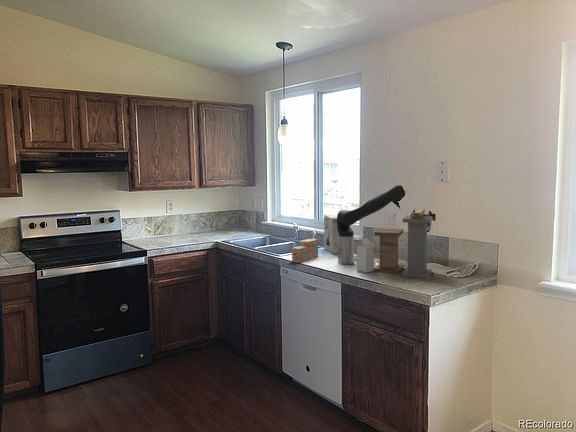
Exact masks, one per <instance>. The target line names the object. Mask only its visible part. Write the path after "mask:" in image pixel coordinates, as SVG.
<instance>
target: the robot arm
mask: <svg viewBox="0 0 576 432" xmlns="http://www.w3.org/2000/svg"><path fill="white" fill-rule="evenodd" d="M402 186H403V185H399V184H398V185H395V186H393V187H391V188H390V189H389V190H387V191H384V192H382V193H379V194H378V195H376V196H373V197H371V198H369V199H367V200H365V201H364V202H363V203H362V204H361V205H360V206H359V207H357V208H354V209H351V210H349V209H341V210H339V211H338V213H337V214H336V215H337V230H338V233H339V247H338V254H337V263H339V264H340V265H351V264H354V263H355V251H354V249H355V248H354V247H355V246H354V243H355V238H354V235H355V234H354V233H355V232H354V230H353V229H352V228H351V226H352V225H354V224H356V223H357V222H359V221H361V220H363V218H365V217H368V216H370V215H372V214H374V213H377V212H378V211H380V210H382V209H383V208H385V207H386V206H388V205H389V204H390V203H393V204H394V205H395V206H396V207H397V208H398V207H399V209H400V206H399V203H398V201H400V200H401V199H402V198H403V197H404V196H406V195H405V191H404V189H403V187H402ZM404 198H405V197H404ZM404 198H403V199H404ZM415 210H416V209H415ZM415 210H414V211H413V212H415ZM410 216H411V215H410ZM423 216H432V221H431V222H430V223H427V232H429V231H430V229H431V225H432V222H436V218H437V217H436V213H432V211H431V210H428V213H427V214H426V213H425V214H424V215H423Z"/></svg>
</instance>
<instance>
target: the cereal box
mask: <svg viewBox="0 0 576 432" xmlns="http://www.w3.org/2000/svg"><path fill="white" fill-rule="evenodd" d="M337 215H338V214H334V213H329V214H328V213H327V214H323V227H324V228H323V232H324V233H323V234H324V235H323V236H324V237H323V239H324V241H323V242H324V246H323V247H324V249H325V251H328V252H329V253H331V254H332V255H338V247H339V233H338V230H337Z"/></svg>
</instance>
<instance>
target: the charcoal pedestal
mask: <svg viewBox="0 0 576 432" xmlns="http://www.w3.org/2000/svg"><path fill="white" fill-rule="evenodd" d="M430 222H431V223H432V222H433V220H432V216H423V219H411V216H407V215H406V216H404V217H403V218H402V223H407V267H406V268H405V269H404V270H403V272H402V274H401V275H402V277H407V278H417V279H418V278H420V279H430V276H431V275H432V273H433V271H432V268H431V269H430V268H427V261H428V260H427V259H428V257H427V256H428V239H427V223H430Z"/></svg>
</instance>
